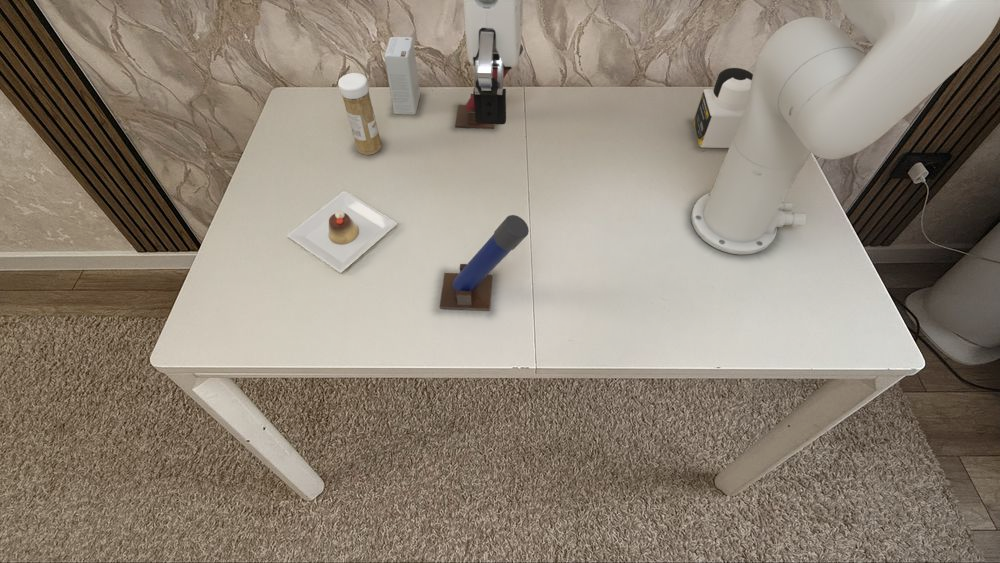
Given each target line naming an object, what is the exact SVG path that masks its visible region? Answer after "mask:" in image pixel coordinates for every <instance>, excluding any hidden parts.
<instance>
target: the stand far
mask: <svg viewBox="0 0 1000 563" xmlns="http://www.w3.org/2000/svg"><path fill="white" fill-rule="evenodd" d="M472 94H473V93H470V98H471V96H472ZM465 106H466V104H458V106H457V111H456V116H455V123H454V128H458V129H492V130H493V129H495V124H479V123H477V122H476V121H475V110H468V112H467V110H466V108H465Z"/></svg>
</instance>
